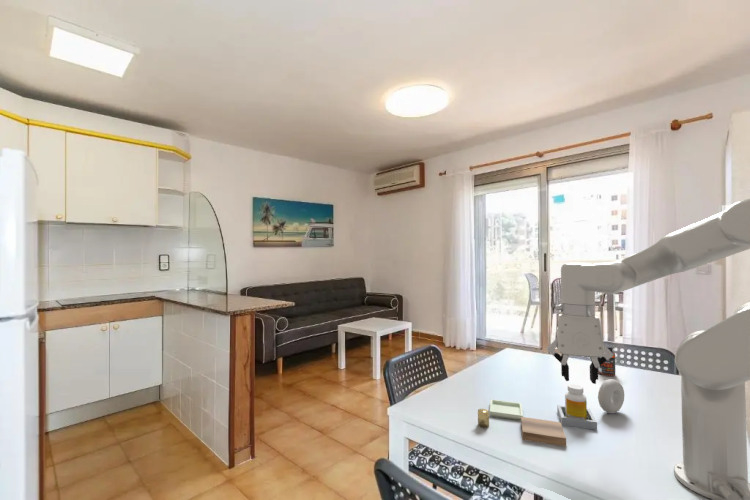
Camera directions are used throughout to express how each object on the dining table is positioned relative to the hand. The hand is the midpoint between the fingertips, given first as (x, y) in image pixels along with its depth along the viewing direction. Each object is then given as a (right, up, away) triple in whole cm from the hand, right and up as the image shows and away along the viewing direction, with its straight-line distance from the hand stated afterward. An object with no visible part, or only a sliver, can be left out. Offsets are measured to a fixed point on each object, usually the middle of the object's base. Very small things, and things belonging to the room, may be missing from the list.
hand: (579, 379), depth 89 cm
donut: (+19, -16, +15) cm, 29 cm away
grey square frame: (+5, -16, +11) cm, 20 cm away
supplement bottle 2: (+40, -16, +49) cm, 65 cm away
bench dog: (-22, -16, +8) cm, 29 cm away
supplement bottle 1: (+5, -16, +11) cm, 20 cm away
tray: (-13, -16, +16) cm, 26 cm away
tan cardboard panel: (-8, -16, +3) cm, 18 cm away
